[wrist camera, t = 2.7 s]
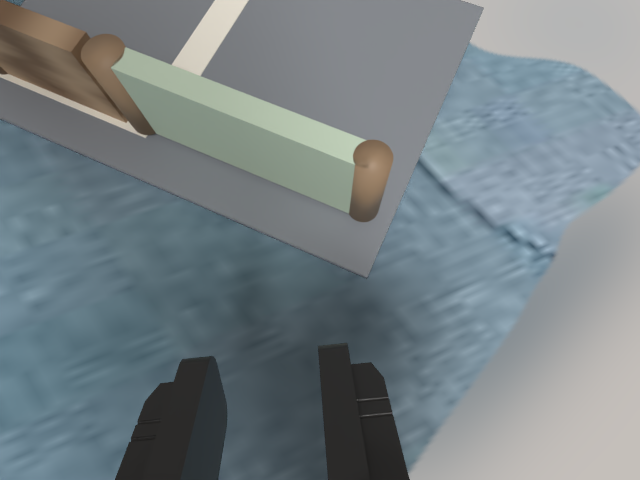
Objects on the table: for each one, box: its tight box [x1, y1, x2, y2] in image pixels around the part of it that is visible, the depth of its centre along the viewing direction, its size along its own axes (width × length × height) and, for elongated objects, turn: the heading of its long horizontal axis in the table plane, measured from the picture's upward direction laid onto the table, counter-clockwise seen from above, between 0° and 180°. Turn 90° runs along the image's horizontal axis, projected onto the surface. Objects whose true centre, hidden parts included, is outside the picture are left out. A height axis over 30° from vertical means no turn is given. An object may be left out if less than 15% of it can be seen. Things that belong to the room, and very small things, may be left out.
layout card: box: [0, 0, 484, 279], centre depth 33 cm, size 23×33×1 cm
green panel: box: [81, 34, 393, 222], centre depth 26 cm, size 18×2×7 cm, turn 65°
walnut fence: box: [0, 0, 128, 123], centre depth 28 cm, size 12×2×7 cm, turn 65°
